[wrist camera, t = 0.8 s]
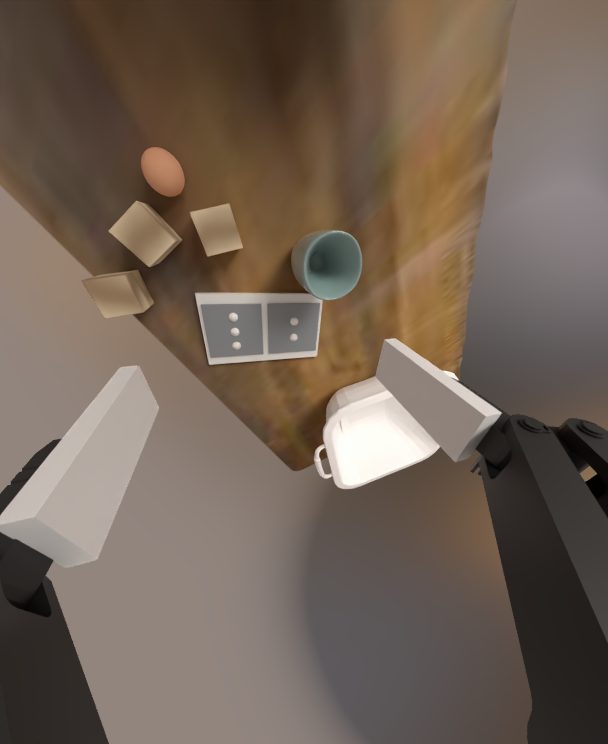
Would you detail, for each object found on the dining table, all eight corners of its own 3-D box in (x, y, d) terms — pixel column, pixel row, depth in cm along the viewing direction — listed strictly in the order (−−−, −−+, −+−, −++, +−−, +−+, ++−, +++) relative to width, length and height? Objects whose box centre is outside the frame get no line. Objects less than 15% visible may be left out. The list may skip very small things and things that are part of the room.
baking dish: (429, 332, 49) (482, 359, 39) (417, 416, 65) (452, 450, 55) (286, 382, 46) (302, 425, 35) (311, 457, 62) (327, 502, 52)
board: (195, 292, 32) (194, 294, 31) (321, 292, 37) (324, 294, 36) (209, 362, 39) (208, 366, 38) (315, 354, 44) (317, 357, 43)
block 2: (124, 275, 26) (138, 269, 29) (81, 280, 25) (100, 274, 28) (143, 312, 28) (154, 303, 32) (105, 318, 27) (120, 308, 31)
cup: (292, 291, 36) (310, 309, 28) (279, 238, 32) (295, 240, 23) (336, 278, 37) (365, 291, 29) (329, 224, 32) (361, 221, 24)
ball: (142, 150, 24) (128, 137, 21) (183, 156, 25) (175, 145, 22) (154, 196, 26) (142, 191, 23) (190, 200, 27) (185, 196, 24)
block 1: (125, 231, 27) (108, 231, 23) (149, 205, 26) (136, 200, 23) (159, 263, 29) (149, 267, 26) (182, 239, 29) (175, 240, 25)
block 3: (195, 214, 28) (189, 212, 24) (229, 207, 28) (229, 203, 25) (210, 253, 30) (207, 256, 27) (242, 245, 31) (243, 247, 27)
